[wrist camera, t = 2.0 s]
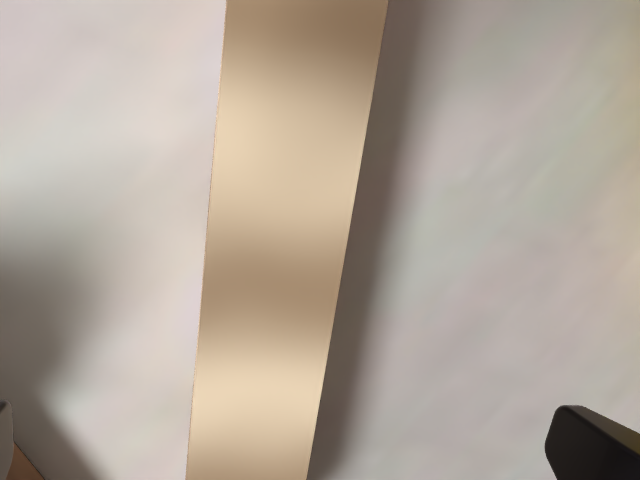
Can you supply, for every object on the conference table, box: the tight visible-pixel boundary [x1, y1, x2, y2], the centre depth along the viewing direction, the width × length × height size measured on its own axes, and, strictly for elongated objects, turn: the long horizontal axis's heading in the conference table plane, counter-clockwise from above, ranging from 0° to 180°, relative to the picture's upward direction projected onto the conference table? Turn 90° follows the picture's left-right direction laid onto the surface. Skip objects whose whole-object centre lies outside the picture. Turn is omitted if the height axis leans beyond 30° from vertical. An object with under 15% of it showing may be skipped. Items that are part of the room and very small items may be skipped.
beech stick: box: [185, 0, 389, 480], centre depth 15 cm, size 22×4×4 cm, turn 171°
